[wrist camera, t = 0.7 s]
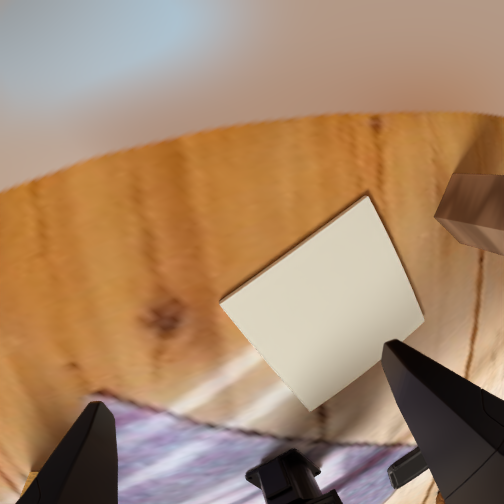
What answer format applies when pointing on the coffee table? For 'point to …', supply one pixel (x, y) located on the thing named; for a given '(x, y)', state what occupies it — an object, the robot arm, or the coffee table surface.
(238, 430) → the coffee table surface
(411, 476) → the phone
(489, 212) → the walnut block
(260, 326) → the board
